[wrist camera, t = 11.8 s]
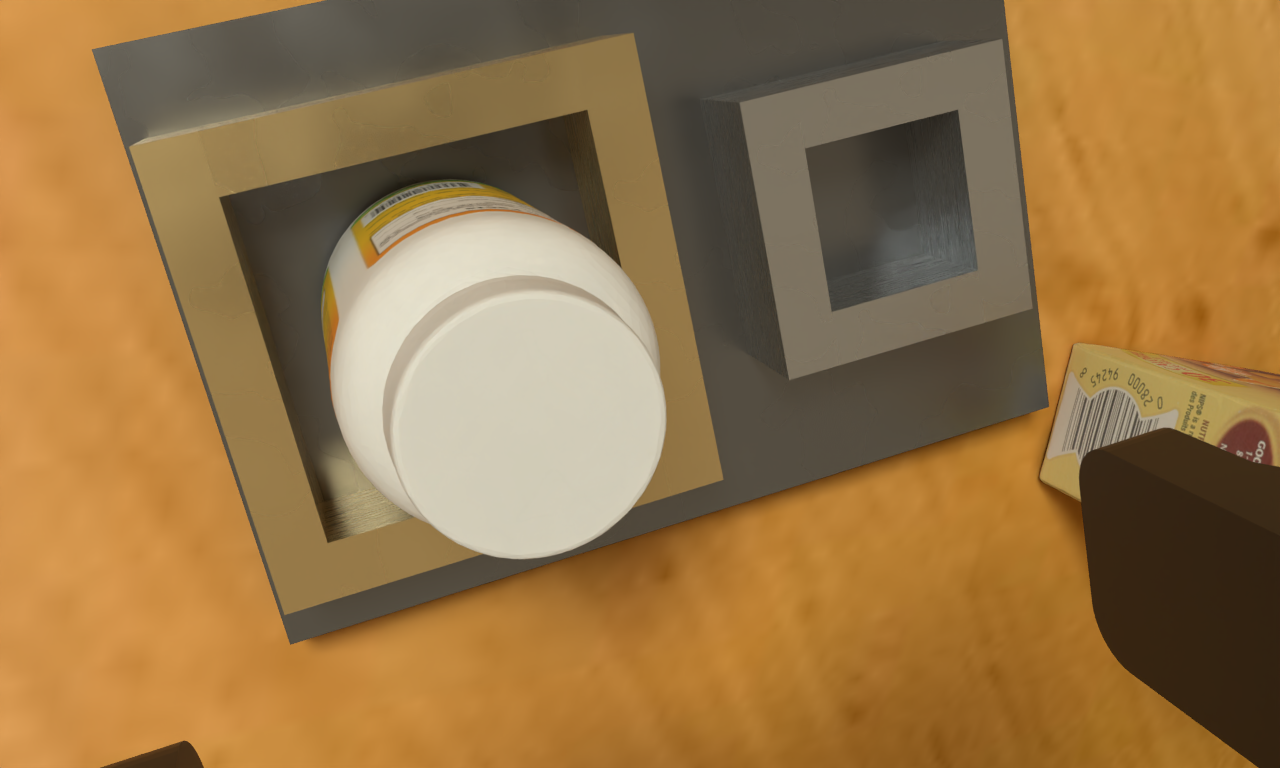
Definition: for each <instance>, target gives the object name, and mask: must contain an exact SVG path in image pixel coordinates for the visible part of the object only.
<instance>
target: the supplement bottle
mask: <svg viewBox="0 0 1280 768" xmlns="http://www.w3.org/2000/svg"><path fill="white" fill-rule="evenodd" d="M321 321H322V330H323V336H324V342H325V348H326V355H327V362H328V371H329V380H330V391H331V400H332V403H333V407H334V411H335V415H336V418H337V421H338V424H339V427H340V430H341V433H342V435H343V438H344V441H345V443H346V445H347V447H348V449H349V451H350V453H351V455H352V457H353V458H354V460H355V462H356V463H357V465H358V467H359V469H360V470H361V471H362V473H363V474H364V475H365V477H366V478H367V479H368V480H369V481H370V482H371V483H372V484H373V485H374V486H375V488H376V489H377V490H378V491H379V492H380V493H381V494H383V495H384V496H385V497H386V498H387V499H388V500H390V501H391V502H392V503H394V504H395V505H396V506H398V507H399V508H400V509H402V510H403V511H405V512H406V513H408V514H410V515H412V516H414V517H416V518H417V519H419V520H421V521H424V522H426V523H428V524H431V525H432V526H433V527H434V528H435V529H436V530H438V531H439V532H440V533H442V534H443V535H445V536H446V537H447V538H449V539H451V540H452V541H454V542H456V543H457V544H459V545H461V546H464V547H466V548H468V549H471V550H473V551H476V552H479V553H482V554H486V555H490V556H494V557H500V558H510V559H533V558H542V557H548V556H552V555H556V554H560V553H563V552H566V551H570V550H573V549H575V548H577V547H580V546H582V545H584V544H586V543H588V542H590V541H592V540H593V539H595V538H597V537H599V536H600V535H602V534H603V533H605V532H606V531H607V530H609V529H610V528H611V527H612V526H614V525H615V524H616V523H617V522H618V521H619V520H620V519H621V518H623V517H624V516H625V515H626V514H627V513H628V512H629V511H630V510H631V508H632V507H633V506H634V504H635V503H636V502H637V501H638V499H639V498H640V497H641V495H642V494H643V493H644V491H645V489H646V488H647V486H648V484H649V483H650V481H651V479H652V476H653V474H654V472H655V470H656V467H657V465H658V462H659V460H660V457H661V453H662V449H663V445H664V439H665V433H666V400H665V394H664V388H663V384H662V381H661V378H660V354H659V346H658V341H657V335H656V332H655V328H654V325H653V322H652V319H651V317H650V314H649V312H648V309H647V307H646V305H645V303H644V301H643V299H642V297H641V295H640V294H639V292H638V290H637V289H636V287H635V285H634V284H633V282H632V281H631V280H630V278H629V277H628V276H627V275H626V273H625V272H624V271H623V270H622V268H621V267H620V266H619V265H618V264H617V263H616V262H615V261H614V260H613V259H612V258H611V257H609V256H608V255H607V254H606V253H605V252H604V251H603V250H601V249H600V248H599V247H598V246H597V245H596V244H595V243H593V242H592V241H591V240H589V239H587V238H586V237H584V236H583V235H581V234H580V233H578V232H576V231H575V230H573V229H571V228H569V227H568V226H566V225H564V224H562V223H560V222H558V221H556V220H555V219H553V218H551V217H550V216H548V215H546V214H545V213H543V212H541V211H539V210H538V209H536V208H534V207H532V206H531V205H529V204H527V203H526V202H524V201H522V200H520V199H519V198H517V197H515V196H514V195H512V194H510V193H508V192H505V191H503V190H501V189H499V188H496V187H493V186H490V185H486V184H483V183H479V182H473V181H467V180H457V179H443V180H430V181H424V182H420V183H416V184H412V185H409V186H406V187H403V188H401V189H398V190H396V191H394V192H392V193H390V194H388V195H386V196H384V197H383V198H381V199H380V200H378V201H376V202H375V203H374V204H372V205H371V206H369V207H368V208H367V209H366V210H365V211H364V212H362V213H361V214H360V215H359V216H358V217H357V218H356V219H355V220H354V221H353V222H352V224H351V225H350V226H349V227H348V229H347V230H346V231H345V232H344V234H343V235H342V236H341V238H340V240H339V241H338V243H337V245H336V247H335V249H334V251H333V253H332V255H331V257H330V259H329V262H328V265H327V268H326V272H325V276H324V281H323V286H322V295H321Z"/></svg>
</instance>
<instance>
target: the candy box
mask: <svg viewBox="0 0 1280 768" xmlns="http://www.w3.org/2000/svg"><path fill="white" fill-rule="evenodd" d="M1160 428H1172V429H1175V430H1178V431H1180V432H1183V433H1185V434H1188V435H1190V436H1192V437H1195V438H1197V439H1199V440H1202V441H1204V442H1206V443H1209V444H1211V445H1214V446H1216V447H1218V448H1221V449H1223V450H1225V451H1228V452H1230V453H1232V454H1235V455H1237V456H1240V457H1242V458H1244V459H1247V460H1249V461H1251V462H1256V463H1261V464H1267V465H1272V466H1278V467H1280V375H1279V374H1274V373H1268V372H1263V371H1257V370H1251V369H1246V368H1240V367H1235V366H1228V365H1221V364H1215V363H1209V362H1203V361H1196V360H1190V359H1184V358H1178V357H1172V356H1165V355H1159V354H1152V353H1145V352H1138V351H1132V350H1126V349H1119V348H1113V347H1107V346H1100V345H1093V344H1085V343H1076V344H1074V345H1073V348H1072V352H1071V356H1070V360H1069V363H1068V367H1067V371H1066V376H1065V380H1064V384H1063V388H1062V391H1061V395H1060V399H1059V403H1058V407H1057V411H1056V415H1055V419H1054V423H1053V428H1052V431H1051V435H1050V439H1049V444H1048V448H1047V451H1046V455H1045V459H1044V462H1043V465H1042V468H1041V471H1040V479H1041V481H1042V482H1043V483H1045V484H1047V485H1049V486H1051V487H1053V488H1055V489H1057V490H1059V491H1061V492H1063V493H1064V494H1066V495H1068V496H1070V497H1072V498H1074V499H1076V500H1078V501H1080V502H1081V496H1080V487H1079V470H1080V465H1081V462H1082V460H1083V458H1084V456H1085V455H1086V454H1087V453H1088V452H1090V451H1091V450H1094V449H1097V448H1101V447H1104V446H1107V445H1110V444H1113V443H1116V442H1119V441H1122V440H1125V439H1128V438H1132V437H1135V436H1138V435H1141V434H1144V433H1147V432H1150V431H1153V430H1156V429H1160Z"/></svg>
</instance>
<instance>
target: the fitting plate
mask: <svg viewBox="0 0 1280 768" xmlns="http://www.w3.org/2000/svg"><path fill="white" fill-rule="evenodd" d="M92 51H93V54H94V57H95V60H96V63H97V66H98V69H99V72H100V75H101V78H102V81H103V84H104V87H105V90H106V93H107V96H108V99H109V102H110V105H111V108H112V111H113V114H114V117H115V120H116V123H117V126H118V129H119V132H120V135H121V138H122V141H123V144H124V147H125V150H126V153H127V156H128V159H129V162H130V165H131V168H132V171H133V174H134V177H135V180H136V183H137V186H138V189H139V192H140V195H141V198H142V201H143V204H144V207H145V210H146V213H147V216H148V219H149V222H150V225H151V228H152V231H153V234H154V237H155V240H156V243H157V246H158V249H159V252H160V255H161V258H162V261H163V264H164V267H165V270H166V273H167V276H168V279H169V282H170V285H171V288H172V291H173V294H174V297H175V300H176V303H177V306H178V309H179V312H180V315H181V318H182V321H183V324H184V327H185V330H186V333H187V336H188V339H189V342H190V345H191V348H192V351H193V354H194V357H195V360H196V363H197V366H198V369H199V372H200V375H201V378H202V381H203V384H204V387H205V390H206V393H207V396H208V399H209V402H210V405H211V408H212V411H213V414H214V417H215V420H216V423H217V426H218V429H219V432H220V435H221V438H222V441H223V444H224V447H225V450H226V453H227V456H228V459H229V462H230V465H231V468H232V471H233V474H234V477H235V480H236V483H237V486H238V489H239V492H240V495H241V498H242V501H243V504H244V507H245V510H246V513H247V516H248V519H249V522H250V525H251V528H252V531H253V534H254V537H255V540H256V543H257V546H258V549H259V552H260V555H261V558H262V561H263V564H264V567H265V570H266V573H267V576H268V579H269V582H270V585H271V588H272V591H273V594H274V597H275V600H276V603H277V606H278V609H279V612H280V615H281V618H282V621H283V624H284V627H285V630H286V633H287V636H288V639H289V642H290V645H291V644H294V643H297V642H300V641H303V640H306V639H310V638H313V637H316V636H319V635H322V634H326V633H329V632H332V631H335V630H338V629H342V628H345V627H348V626H351V625H354V624H358V623H361V622H364V621H367V620H370V619H373V618H377V617H380V616H383V615H386V614H389V613H393V612H396V611H399V610H402V609H405V608H409V607H412V606H415V605H418V604H421V603H425V602H428V601H431V600H434V599H437V598H440V597H444V596H447V595H450V594H453V593H456V592H460V591H463V590H466V589H469V588H472V587H476V586H479V585H482V584H485V583H488V582H492V581H495V580H498V579H501V578H504V577H507V576H511V575H514V574H517V573H520V572H523V571H527V570H530V569H533V568H536V567H539V566H543V565H546V564H549V563H552V562H555V561H558V560H562V559H565V558H568V557H571V556H574V555H578V554H581V553H584V552H587V551H590V550H594V549H597V548H600V547H603V546H606V545H610V544H613V543H616V542H619V541H622V540H625V539H629V538H632V537H635V536H638V535H641V534H645V533H648V532H651V531H654V530H657V529H661V528H664V527H667V526H670V525H673V524H677V523H680V522H683V521H686V520H689V519H692V518H696V517H699V516H702V515H705V514H708V513H712V512H715V511H718V510H721V509H724V508H728V507H731V506H734V505H737V504H740V503H744V502H747V501H750V500H753V499H756V498H759V497H763V496H766V495H769V494H772V493H775V492H779V491H782V490H785V489H788V488H791V487H795V486H798V485H801V484H804V483H807V482H811V481H814V480H817V479H820V478H823V477H826V476H830V475H833V474H836V473H839V472H842V471H846V470H849V469H852V468H855V467H858V466H862V465H865V464H868V463H871V462H874V461H878V460H881V459H884V458H887V457H890V456H893V455H897V454H900V453H903V452H906V451H909V450H913V449H916V448H919V447H922V446H925V445H929V444H932V443H935V442H938V441H941V440H944V439H948V438H951V437H954V436H957V435H960V434H964V433H967V432H970V431H973V430H976V429H980V428H983V427H986V426H989V425H992V424H996V423H999V422H1002V421H1005V420H1008V419H1011V418H1015V417H1018V416H1021V415H1024V414H1027V413H1031V412H1034V411H1037V410H1040V409H1043V408H1047V407H1049V402H1048V393H1047V384H1046V375H1045V366H1044V357H1043V348H1042V339H1041V330H1040V321H1039V312H1038V303H1037V294H1036V286H1035V277H1034V268H1033V259H1032V250H1031V241H1030V232H1029V223H1028V214H1027V205H1026V196H1025V187H1024V178H1023V169H1022V160H1021V151H1020V142H1019V133H1018V124H1017V115H1016V106H1015V97H1014V88H1013V79H1012V70H1011V61H1010V52H1009V43H1008V34H1007V25H1006V16H1005V7H1004V0H326V1H321V2H316V3H311V4H307V5H302V6H297V7H292V8H287V9H283V10H278V11H273V12H268V13H264V14H259V15H254V16H249V17H245V18H240V19H235V20H230V21H225V22H221V23H216V24H211V25H206V26H202V27H197V28H192V29H187V30H182V31H178V32H173V33H168V34H163V35H159V36H154V37H149V38H144V39H140V40H135V41H130V42H125V43H120V44H116V45H111V46H106V47H101V48H97V49H92ZM443 179H457V180H467V181H473V182H479V183H483V184H486V185H490V186H493V187H496V188H499V189H501V190H503V191H505V192H508V193H510V194H512V195H514V196H515V197H517V198H519V199H520V200H522V201H524V202H526V203H527V204H529V205H531V206H532V207H534V208H536V209H538V210H539V211H541V212H543V213H545V214H546V215H548V216H550V217H551V218H553V219H555V220H556V221H558V222H560V223H562V224H564V225H566V226H568V227H569V228H571V229H573V230H575V231H576V232H578V233H580V234H581V235H583V236H584V237H586V238H587V239H589V240H591V241H592V242H593V243H595V244H596V245H597V246H598V247H599V248H600V249H601V250H603V251H604V252H605V253H606V254H607V255H608V256H609V257H611V258H612V259H613V260H614V261H615V262H616V263H617V264H618V265H619V266H620V267H621V268H622V270H623V271H624V272H625V273H626V275H627V276H628V277H629V278H630V280H631V281H632V282H633V284H634V285H635V287H636V289H637V290H638V292H639V294H640V295H641V297H642V299H643V301H644V303H645V305H646V307H647V309H648V312H649V314H650V317H651V319H652V322H653V325H654V328H655V332H656V335H657V341H658V346H659V354H660V378H661V381H662V384H663V388H664V394H665V400H666V433H665V439H664V445H663V449H662V453H661V457H660V460H659V462H658V465H657V467H656V470H655V472H654V474H653V476H652V479H651V481H650V483H649V484H648V486H647V488H646V489H645V491H644V493H643V494H642V495H641V497H640V498H639V499H638V501H637V502H636V503H635V504H634V506H633V507H632V508H631V510H630V511H629V512H628V513H627V514H626V515H625V516H624V517H623V518H621V519H620V520H619V521H618V522H617V523H616V524H615V525H614V526H612V527H611V528H610V529H609V530H607V531H606V532H605V533H603V534H602V535H600V536H599V537H597V538H595V539H593V540H592V541H590V542H588V543H586V544H584V545H582V546H580V547H577V548H575V549H573V550H570V551H566V552H563V553H560V554H556V555H552V556H548V557H542V558H533V559H510V558H500V557H494V556H490V555H486V554H482V553H479V552H476V551H473V550H471V549H468V548H466V547H464V546H461V545H459V544H457V543H456V542H454V541H452V540H451V539H449V538H447V537H446V536H445V535H443V534H442V533H440V532H439V531H438V530H436V529H435V528H434V527H433V526H432V525H431V524H428V523H426V522H424V521H421V520H419V519H417V518H416V517H414V516H412V515H410V514H408V513H406V512H405V511H403V510H402V509H400V508H399V507H398V506H396V505H395V504H394V503H392V502H391V501H390V500H388V499H387V498H386V497H385V496H384V495H383V494H381V493H380V492H379V491H378V490H377V489H376V488H375V486H374V485H373V484H372V483H371V482H370V481H369V480H368V479H367V478H366V477H365V475H364V474H363V473H362V471H361V470H360V469H359V467H358V465H357V463H356V462H355V460H354V458H353V457H352V455H351V453H350V451H349V449H348V447H347V445H346V443H345V441H344V438H343V435H342V433H341V430H340V427H339V424H338V421H337V418H336V415H335V411H334V407H333V403H332V400H331V391H330V380H329V371H328V362H327V355H326V348H325V342H324V336H323V330H322V321H321V295H322V286H323V281H324V276H325V272H326V268H327V265H328V262H329V259H330V257H331V255H332V253H333V251H334V249H335V247H336V245H337V243H338V241H339V240H340V238H341V236H342V235H343V234H344V232H345V231H346V230H347V229H348V227H349V226H350V225H351V224H352V222H353V221H354V220H355V219H356V218H357V217H358V216H359V215H360V214H361V213H362V212H364V211H365V210H366V209H367V208H368V207H369V206H371V205H372V204H374V203H375V202H376V201H378V200H380V199H381V198H383V197H384V196H386V195H388V194H390V193H392V192H394V191H396V190H398V189H401V188H403V187H406V186H409V185H412V184H416V183H420V182H424V181H430V180H443Z"/></svg>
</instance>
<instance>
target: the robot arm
mask: <svg viewBox="0 0 1280 768" xmlns="http://www.w3.org/2000/svg"><path fill="white" fill-rule="evenodd" d="M1079 487H1080V496H1081V505H1082V514H1083V523H1084V532H1085V541H1086V550H1087V559H1088V568H1089V577H1090V586H1091V595H1092V604H1093V610H1094V614H1095V618H1096V621H1097V624H1098V627H1099V629H1100V632H1101V634H1102V636H1103V638H1104V640H1105V642H1106V644H1107V646H1108V647H1109V649H1110V650H1111V652H1112V653H1113V655H1114V656H1115V657H1116V659H1117V660H1118V661H1119V662H1120V663H1121V665H1122V666H1123V667H1124V668H1125V669H1127V670H1128V671H1129V672H1130V673H1131V674H1133V675H1134V676H1135V677H1137V678H1138V679H1140V680H1141V681H1142V682H1144V683H1145V684H1146V685H1148V686H1149V687H1150V688H1152V689H1153V690H1154V691H1156V692H1157V693H1158V694H1160V695H1161V696H1162V697H1164V698H1165V699H1167V700H1168V701H1169V702H1171V703H1172V704H1173V705H1175V706H1176V707H1177V708H1179V709H1180V710H1181V711H1183V712H1184V713H1185V714H1187V715H1188V716H1190V717H1191V718H1192V719H1194V720H1195V721H1196V722H1198V723H1199V724H1200V725H1202V726H1203V727H1204V728H1206V729H1207V730H1208V731H1210V732H1211V733H1213V734H1214V735H1215V736H1217V737H1218V738H1219V739H1221V740H1222V741H1223V742H1225V743H1226V744H1227V745H1229V746H1230V747H1231V748H1233V749H1234V750H1235V751H1237V752H1238V753H1240V754H1241V755H1242V756H1244V757H1245V758H1246V759H1248V760H1249V761H1250V762H1252V763H1253V764H1254V765H1256V766H1257V767H1258V768H1280V467H1278V466H1272V465H1267V464H1261V463H1256V462H1251V461H1249V460H1247V459H1244V458H1242V457H1240V456H1237V455H1235V454H1232V453H1230V452H1228V451H1225V450H1223V449H1221V448H1218V447H1216V446H1214V445H1211V444H1209V443H1206V442H1204V441H1202V440H1199V439H1197V438H1195V437H1192V436H1190V435H1188V434H1185V433H1183V432H1180V431H1178V430H1175V429H1172V428H1160V429H1156V430H1153V431H1150V432H1147V433H1144V434H1141V435H1138V436H1135V437H1132V438H1128V439H1125V440H1122V441H1119V442H1116V443H1113V444H1110V445H1107V446H1104V447H1101V448H1097V449H1094V450H1091V451H1090V452H1088V453H1087V454H1086V455H1085V456H1084V458H1083V460H1082V462H1081V465H1080V470H1079ZM101 768H204V767H203V765H202V762H201V760H200V758H199V756H198V754H197V752H196V751H195V749H194V748H193V746H192V745H191V744H190V743H189V742H188V741H182V742H179V743H176V744H172V745H169V746H166V747H163V748H160V749H157V750H154V751H151V752H148V753H145V754H141V755H138V756H135V757H132V758H129V759H126V760H123V761H120V762H117V763H113V764H110V765H107V766H104V767H101Z"/></svg>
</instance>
